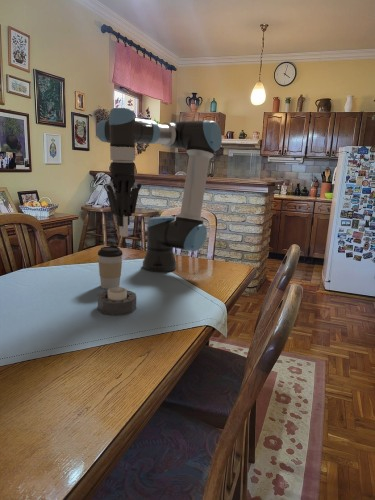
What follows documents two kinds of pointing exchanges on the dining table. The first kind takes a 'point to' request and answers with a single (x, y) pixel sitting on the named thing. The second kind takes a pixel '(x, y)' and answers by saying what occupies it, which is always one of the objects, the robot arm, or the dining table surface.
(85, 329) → the dining table surface
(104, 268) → the coffee cup
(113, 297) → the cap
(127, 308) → the dark round ashtray
